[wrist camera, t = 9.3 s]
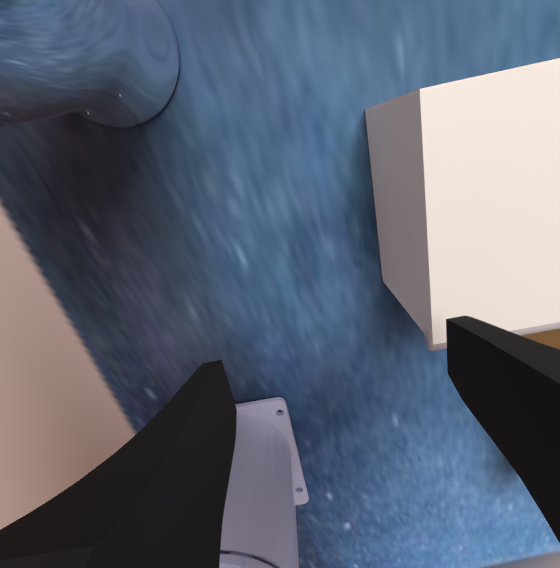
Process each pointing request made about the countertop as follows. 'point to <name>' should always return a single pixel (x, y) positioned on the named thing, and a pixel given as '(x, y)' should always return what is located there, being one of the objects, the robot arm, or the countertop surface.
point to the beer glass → (85, 60)
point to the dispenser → (471, 200)
